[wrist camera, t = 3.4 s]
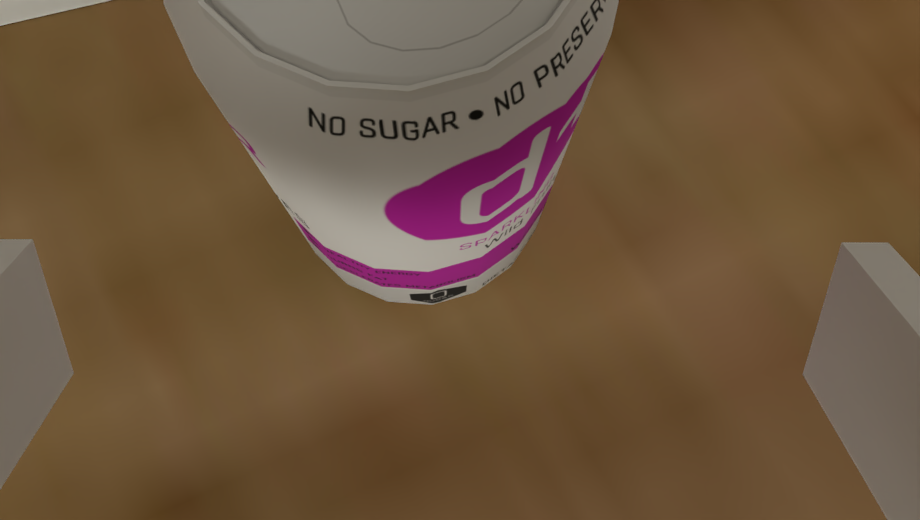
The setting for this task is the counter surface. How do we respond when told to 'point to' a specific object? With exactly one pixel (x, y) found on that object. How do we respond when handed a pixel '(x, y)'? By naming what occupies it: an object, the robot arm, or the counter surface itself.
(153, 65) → the counter surface
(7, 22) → the tray
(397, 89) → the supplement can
